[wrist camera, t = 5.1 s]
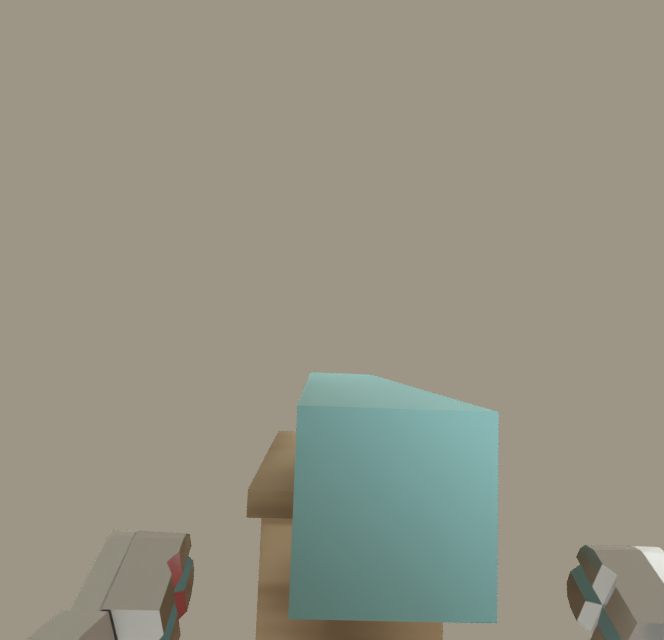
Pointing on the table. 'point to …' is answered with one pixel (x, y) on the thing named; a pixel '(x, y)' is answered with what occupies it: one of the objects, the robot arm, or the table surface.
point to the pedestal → (275, 561)
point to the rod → (393, 504)
